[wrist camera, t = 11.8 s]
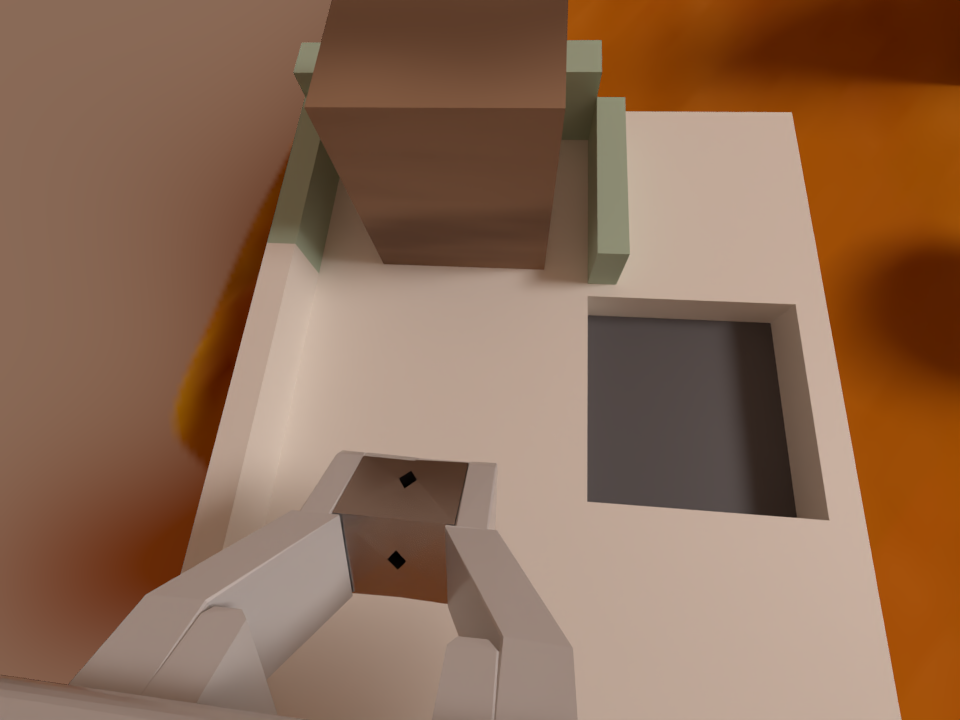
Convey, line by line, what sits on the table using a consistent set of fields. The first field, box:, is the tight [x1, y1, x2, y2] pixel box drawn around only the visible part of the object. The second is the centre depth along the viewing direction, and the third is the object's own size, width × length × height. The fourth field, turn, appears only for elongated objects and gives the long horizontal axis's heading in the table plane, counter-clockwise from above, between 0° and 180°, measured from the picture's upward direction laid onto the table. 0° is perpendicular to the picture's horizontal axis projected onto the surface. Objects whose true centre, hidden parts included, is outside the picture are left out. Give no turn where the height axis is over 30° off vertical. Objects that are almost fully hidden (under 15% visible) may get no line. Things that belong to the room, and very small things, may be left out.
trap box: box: [181, 40, 901, 720], centre depth 13 cm, size 36×19×5 cm, turn 175°
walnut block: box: [304, 0, 568, 270], centre depth 15 cm, size 6×6×7 cm
